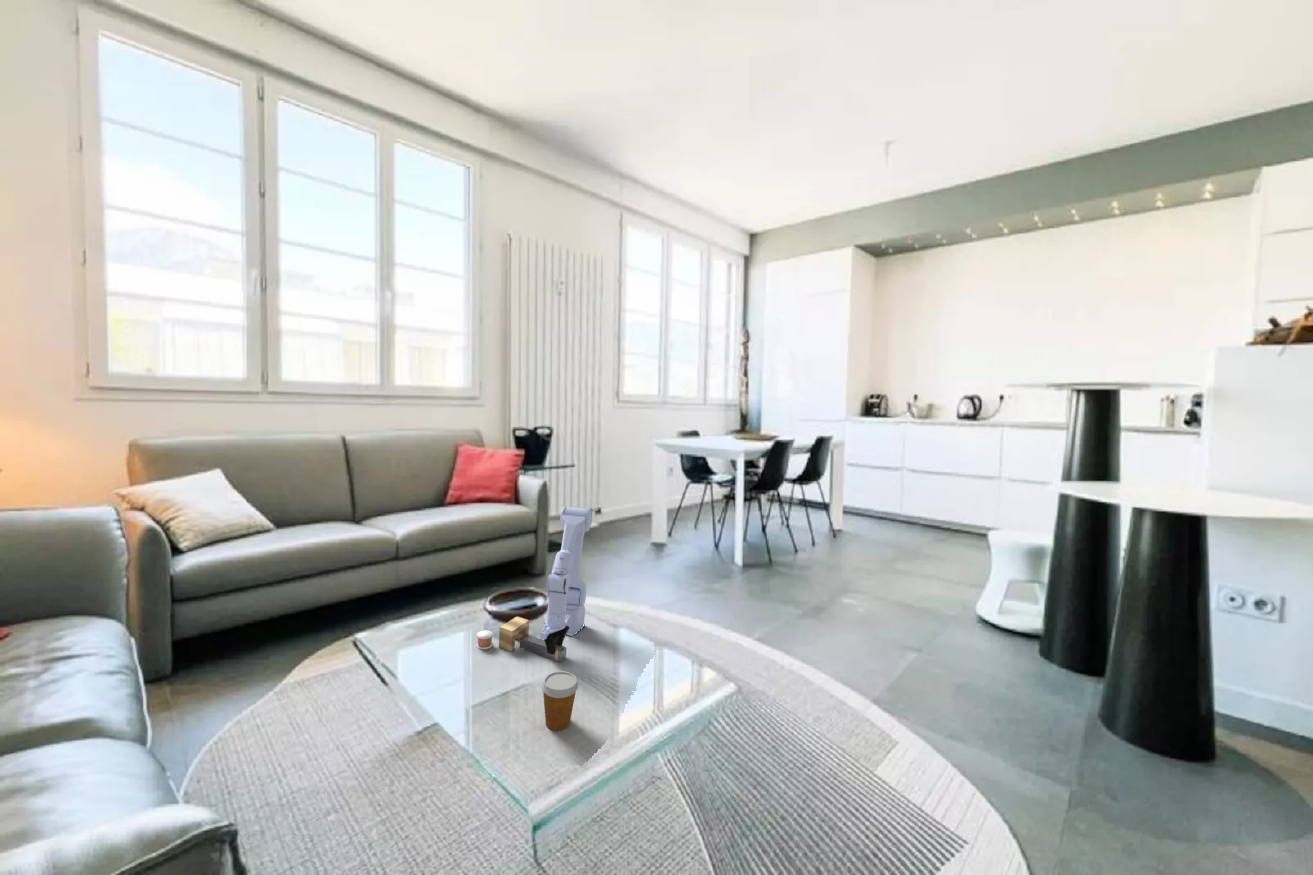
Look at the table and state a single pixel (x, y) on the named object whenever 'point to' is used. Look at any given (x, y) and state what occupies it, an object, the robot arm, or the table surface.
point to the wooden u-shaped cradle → (512, 632)
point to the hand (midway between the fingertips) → (554, 650)
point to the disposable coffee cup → (559, 698)
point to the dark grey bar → (541, 647)
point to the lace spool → (484, 639)
